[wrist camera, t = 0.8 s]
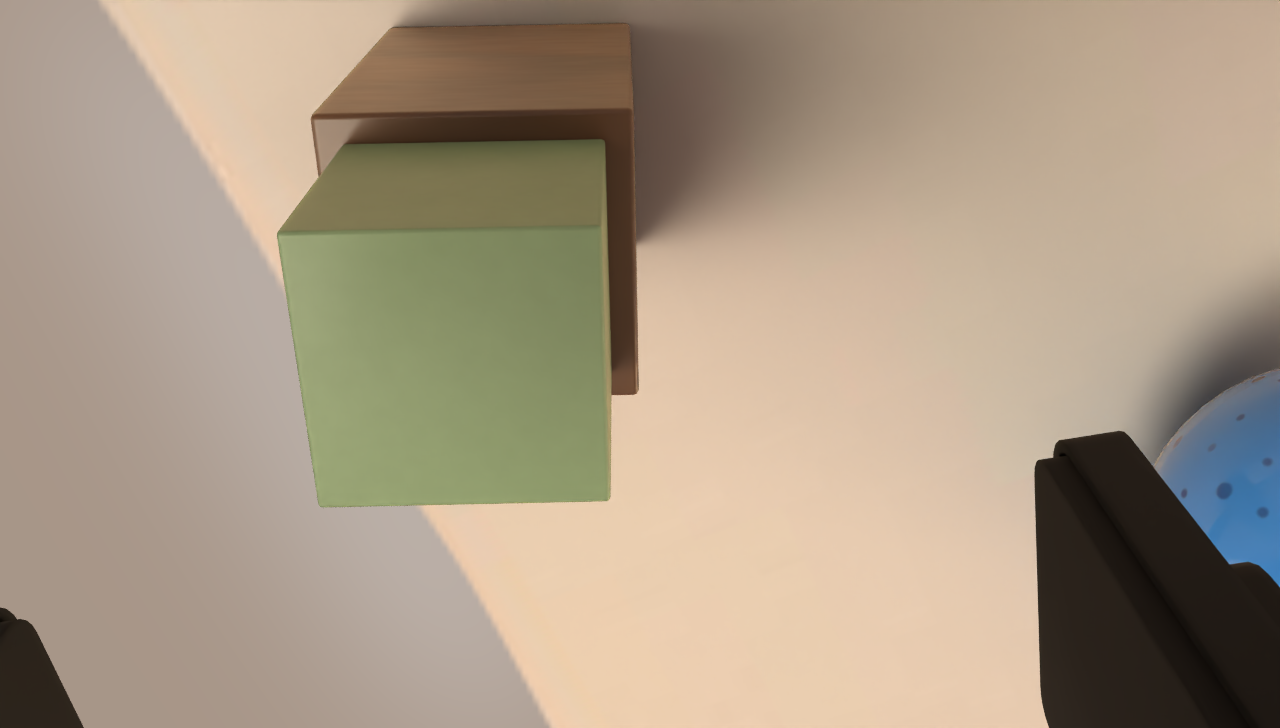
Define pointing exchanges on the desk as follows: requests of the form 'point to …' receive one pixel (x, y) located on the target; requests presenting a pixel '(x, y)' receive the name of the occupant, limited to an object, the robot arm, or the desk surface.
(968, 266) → the desk surface
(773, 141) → the desk surface
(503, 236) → the top block
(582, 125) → the base block
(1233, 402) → the cell model
